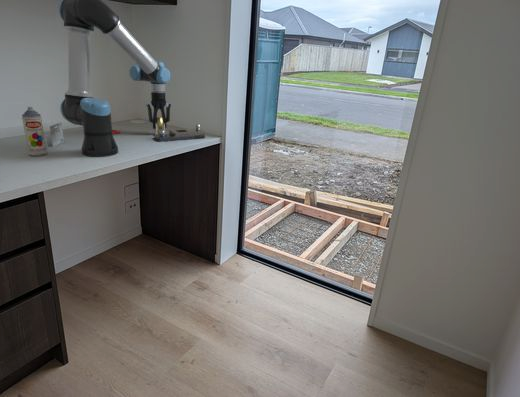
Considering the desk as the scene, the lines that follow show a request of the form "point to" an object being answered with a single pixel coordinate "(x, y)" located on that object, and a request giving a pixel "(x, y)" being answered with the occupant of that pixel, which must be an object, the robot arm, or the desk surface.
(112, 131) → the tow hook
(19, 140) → the desk surface
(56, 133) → the ink cartridge box
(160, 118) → the brass pin
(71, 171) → the desk surface
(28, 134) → the aerosol can
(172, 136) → the door bolt
